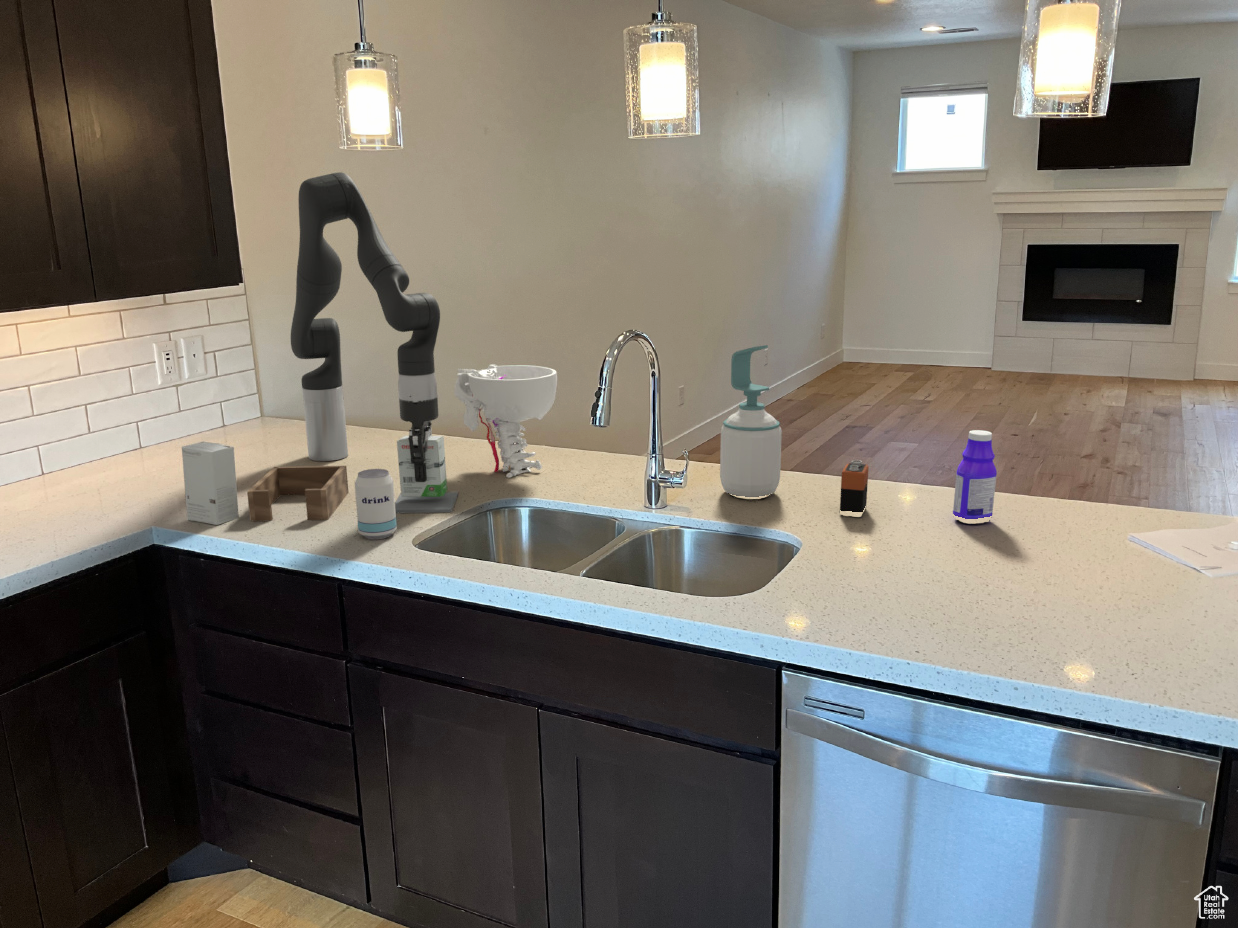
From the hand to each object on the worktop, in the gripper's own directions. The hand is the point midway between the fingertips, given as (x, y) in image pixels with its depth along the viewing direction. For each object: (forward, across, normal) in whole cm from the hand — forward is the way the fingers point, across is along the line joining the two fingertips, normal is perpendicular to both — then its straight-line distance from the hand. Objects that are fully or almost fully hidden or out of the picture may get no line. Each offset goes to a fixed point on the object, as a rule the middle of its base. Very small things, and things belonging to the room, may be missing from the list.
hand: (423, 477), depth 202 cm
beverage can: (+6, +19, -6) cm, 21 cm away
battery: (+6, +12, +85) cm, 86 cm away
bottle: (+6, +19, +106) cm, 108 cm away
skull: (+6, -24, +15) cm, 29 cm away
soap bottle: (+6, -2, +67) cm, 67 cm away
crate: (+6, 0, -25) cm, 26 cm away
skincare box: (+6, +7, -40) cm, 41 cm away
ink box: (+4, 0, 0) cm, 4 cm away
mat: (+6, 0, 0) cm, 6 cm away
